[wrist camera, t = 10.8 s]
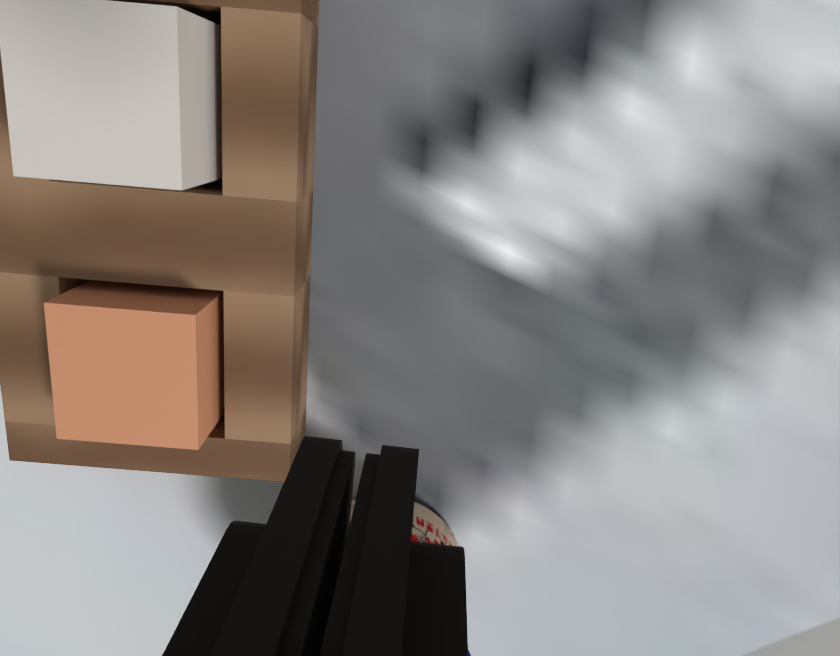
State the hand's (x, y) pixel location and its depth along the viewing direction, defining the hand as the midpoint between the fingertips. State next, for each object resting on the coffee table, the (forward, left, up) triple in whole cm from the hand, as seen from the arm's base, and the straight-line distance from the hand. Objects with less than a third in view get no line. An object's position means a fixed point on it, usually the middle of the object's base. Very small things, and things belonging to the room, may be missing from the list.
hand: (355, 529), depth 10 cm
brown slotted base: (0, -11, -23) cm, 25 cm away
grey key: (-6, -11, -21) cm, 24 cm away
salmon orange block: (+5, -11, -22) cm, 25 cm away
